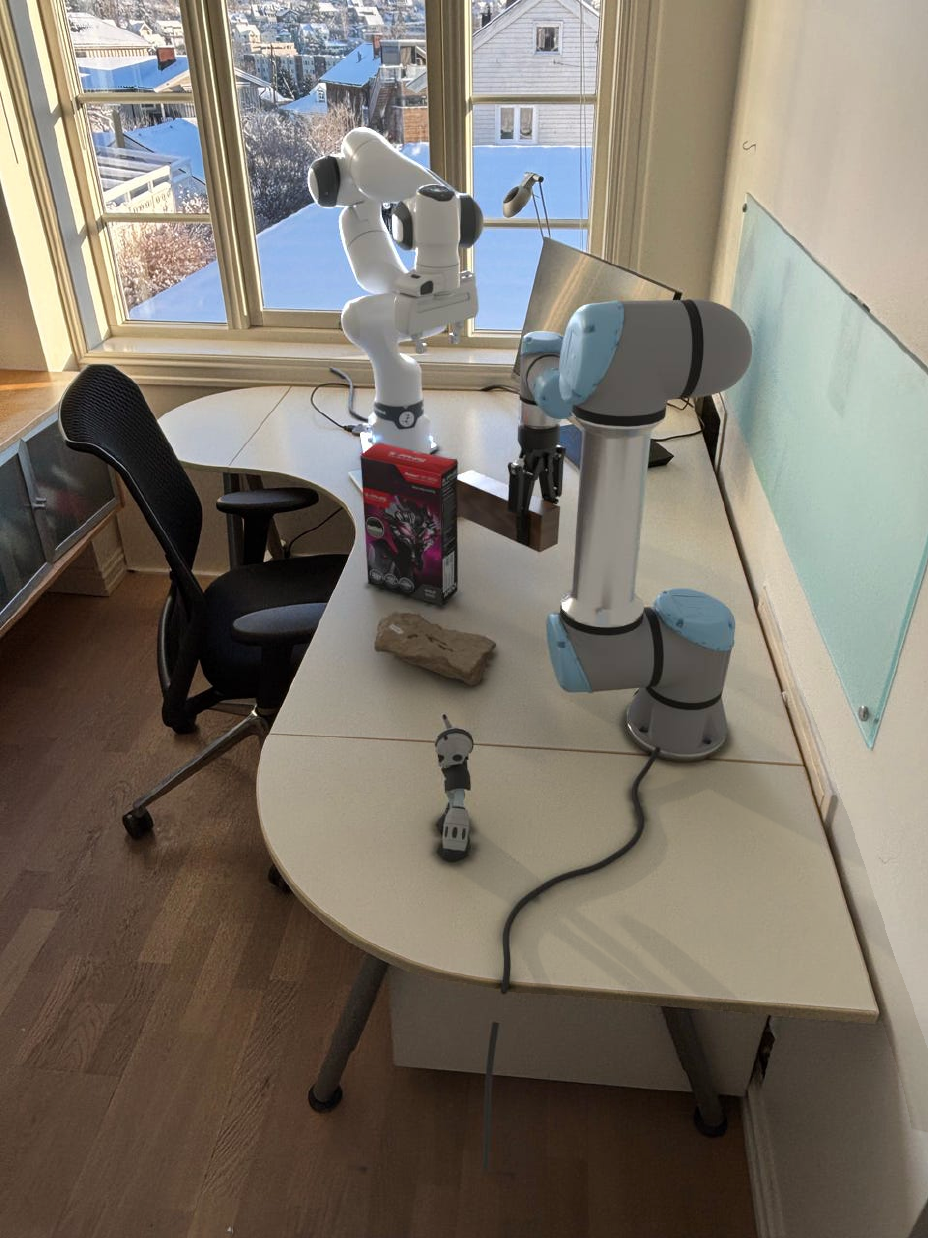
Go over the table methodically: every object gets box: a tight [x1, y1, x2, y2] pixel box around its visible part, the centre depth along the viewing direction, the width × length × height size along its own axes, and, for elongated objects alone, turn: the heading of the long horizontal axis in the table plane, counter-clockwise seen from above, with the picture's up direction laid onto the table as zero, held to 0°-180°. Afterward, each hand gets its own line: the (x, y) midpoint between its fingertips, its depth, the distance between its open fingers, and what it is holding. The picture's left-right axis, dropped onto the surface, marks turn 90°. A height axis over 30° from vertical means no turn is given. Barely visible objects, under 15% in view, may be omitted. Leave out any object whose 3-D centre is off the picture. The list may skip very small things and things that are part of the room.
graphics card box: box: [359, 442, 459, 606], centre depth 169 cm, size 17×7×27 cm, turn 62°
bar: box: [457, 469, 561, 553], centre depth 179 cm, size 24×5×8 cm, turn 45°
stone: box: [373, 611, 497, 686], centre depth 156 cm, size 21×15×6 cm
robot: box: [433, 713, 475, 862], centre depth 119 cm, size 20×5×20 cm, turn 3°
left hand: (438, 347), depth 188 cm, fingers open, 8 cm apart
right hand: (533, 538), depth 176 cm, fingers closed on bar, 5 cm apart
